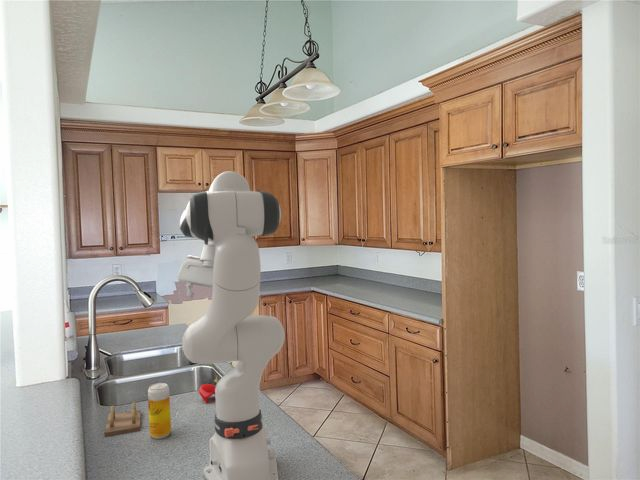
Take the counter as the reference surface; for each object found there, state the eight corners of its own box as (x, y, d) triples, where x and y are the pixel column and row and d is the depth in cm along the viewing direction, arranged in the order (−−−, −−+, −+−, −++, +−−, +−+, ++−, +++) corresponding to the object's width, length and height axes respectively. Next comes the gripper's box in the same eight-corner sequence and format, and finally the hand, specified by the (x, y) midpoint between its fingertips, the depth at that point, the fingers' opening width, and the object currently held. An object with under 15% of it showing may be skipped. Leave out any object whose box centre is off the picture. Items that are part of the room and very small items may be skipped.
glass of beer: (147, 434, 143) (144, 386, 142) (166, 428, 147) (164, 381, 146) (154, 441, 139) (151, 391, 138) (174, 435, 142) (172, 386, 142)
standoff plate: (140, 430, 146) (139, 413, 146) (104, 436, 143) (103, 419, 143) (140, 413, 160) (139, 398, 159) (108, 418, 156) (107, 403, 156)
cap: (199, 397, 164) (214, 386, 165) (194, 386, 168) (208, 376, 170) (210, 409, 168) (224, 399, 170) (205, 399, 173) (219, 389, 174)
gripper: (181, 251, 154) (169, 292, 150) (240, 260, 151) (230, 303, 147) (188, 256, 160) (176, 296, 156) (245, 266, 157) (235, 307, 153)
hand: (203, 299), depth 151 cm, fingers open, 8 cm apart
